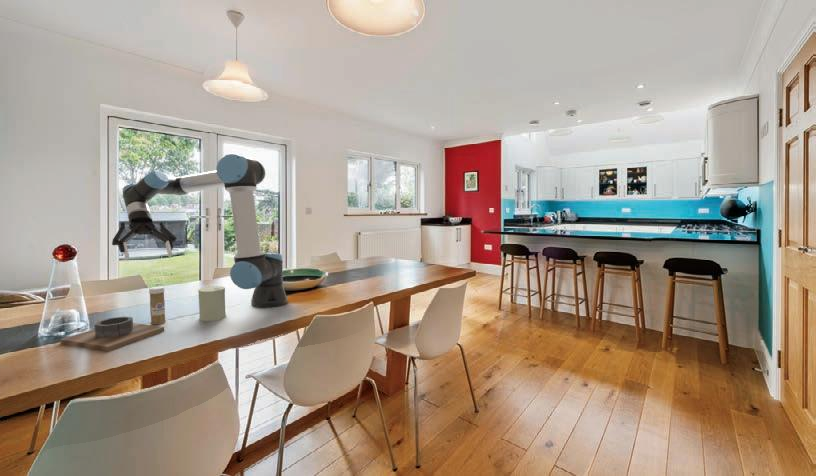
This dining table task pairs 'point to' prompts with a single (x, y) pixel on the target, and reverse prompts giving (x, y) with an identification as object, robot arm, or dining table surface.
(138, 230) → the robot arm
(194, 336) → the dining table surface
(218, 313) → the can
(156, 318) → the sprinkles bottle
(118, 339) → the bottle holder
